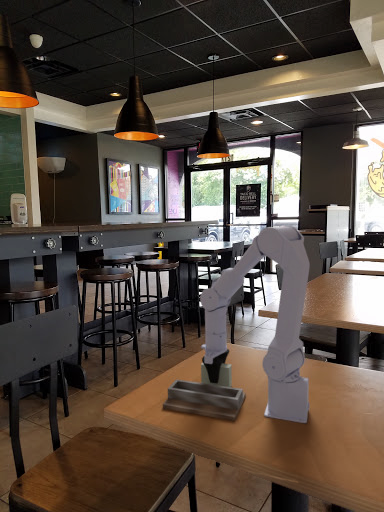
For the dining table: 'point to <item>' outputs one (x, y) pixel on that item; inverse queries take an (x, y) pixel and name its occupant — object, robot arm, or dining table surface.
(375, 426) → the dining table surface
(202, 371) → the panel
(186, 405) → the grey metal tray
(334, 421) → the dining table surface
